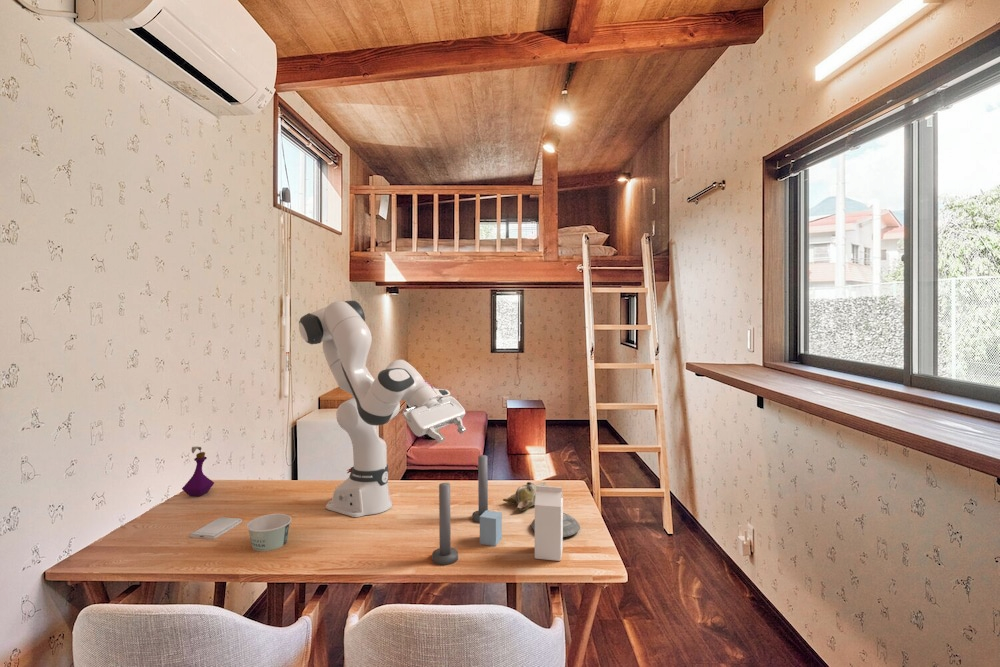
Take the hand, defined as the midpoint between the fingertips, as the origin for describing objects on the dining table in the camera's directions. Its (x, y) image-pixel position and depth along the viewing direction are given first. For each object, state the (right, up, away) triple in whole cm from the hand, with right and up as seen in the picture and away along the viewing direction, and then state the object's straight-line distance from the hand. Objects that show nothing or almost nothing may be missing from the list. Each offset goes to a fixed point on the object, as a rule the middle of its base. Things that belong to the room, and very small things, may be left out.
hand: (453, 436), depth 147 cm
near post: (-1, -31, -10) cm, 33 cm away
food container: (-53, -31, -1) cm, 62 cm away
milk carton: (+27, -31, -7) cm, 42 cm away
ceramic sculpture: (+23, -30, +27) cm, 47 cm away
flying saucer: (+31, -31, +8) cm, 44 cm away
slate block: (+11, -31, +1) cm, 33 cm away
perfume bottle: (-98, -30, +39) cm, 109 cm away
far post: (+8, -30, +17) cm, 35 cm away
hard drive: (-74, -31, +9) cm, 81 cm away
